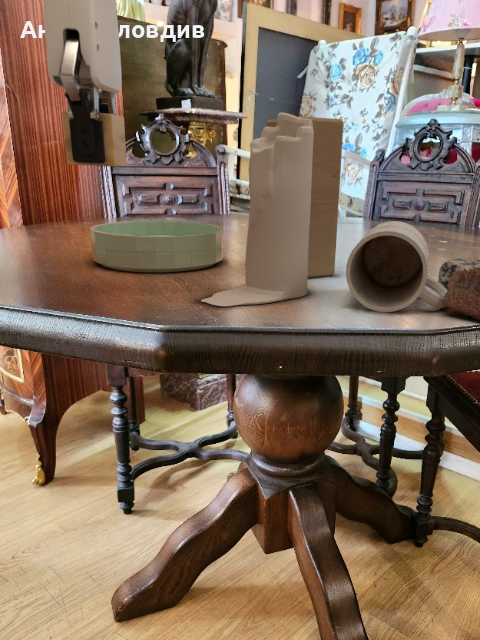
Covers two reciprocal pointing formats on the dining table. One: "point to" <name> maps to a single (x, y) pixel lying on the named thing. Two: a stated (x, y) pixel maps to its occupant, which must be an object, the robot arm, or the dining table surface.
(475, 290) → the stone
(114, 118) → the block
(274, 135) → the candle
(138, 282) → the dining table surface
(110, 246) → the bowl
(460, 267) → the rock
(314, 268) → the decorative block
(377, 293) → the mug
